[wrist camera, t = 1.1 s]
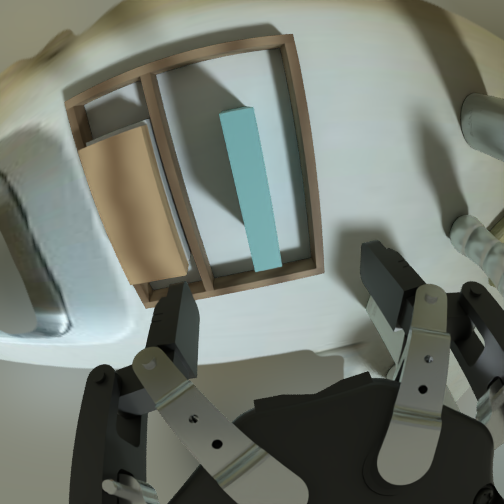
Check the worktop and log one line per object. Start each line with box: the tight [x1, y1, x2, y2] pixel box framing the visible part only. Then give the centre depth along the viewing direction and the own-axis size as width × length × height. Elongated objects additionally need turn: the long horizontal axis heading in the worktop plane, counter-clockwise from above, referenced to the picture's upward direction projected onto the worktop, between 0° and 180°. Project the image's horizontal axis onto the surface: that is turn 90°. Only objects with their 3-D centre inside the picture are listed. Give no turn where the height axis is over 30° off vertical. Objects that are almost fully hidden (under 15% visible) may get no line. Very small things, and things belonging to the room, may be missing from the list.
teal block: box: [219, 106, 282, 272], centre depth 25 cm, size 2×14×9 cm, turn 11°
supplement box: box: [366, 295, 405, 366], centre depth 35 cm, size 7×7×13 cm
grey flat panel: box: [86, 119, 191, 261], centre depth 27 cm, size 7×16×2 cm, turn 10°
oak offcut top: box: [78, 125, 189, 285], centre depth 25 cm, size 7×16×2 cm, turn 10°
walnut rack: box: [65, 34, 324, 309], centre depth 28 cm, size 24×28×2 cm
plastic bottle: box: [450, 215, 504, 297], centre depth 27 cm, size 6×7×20 cm
